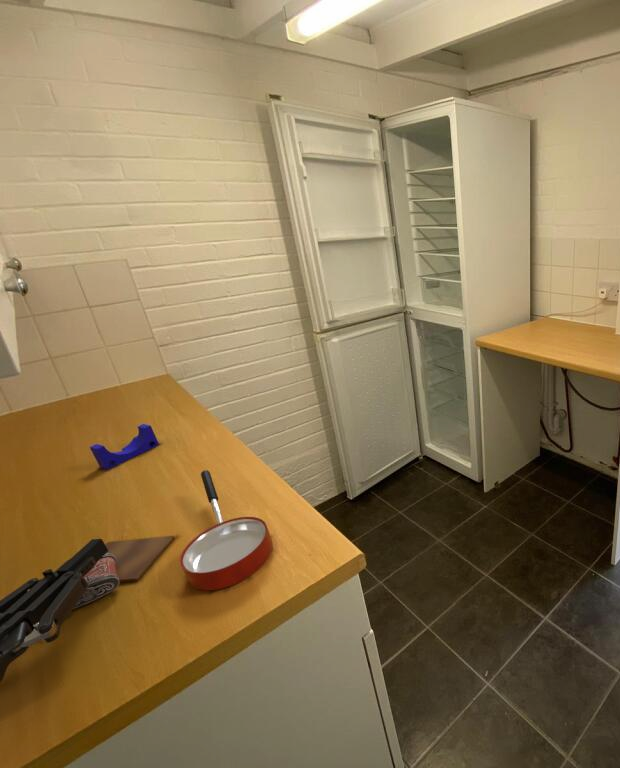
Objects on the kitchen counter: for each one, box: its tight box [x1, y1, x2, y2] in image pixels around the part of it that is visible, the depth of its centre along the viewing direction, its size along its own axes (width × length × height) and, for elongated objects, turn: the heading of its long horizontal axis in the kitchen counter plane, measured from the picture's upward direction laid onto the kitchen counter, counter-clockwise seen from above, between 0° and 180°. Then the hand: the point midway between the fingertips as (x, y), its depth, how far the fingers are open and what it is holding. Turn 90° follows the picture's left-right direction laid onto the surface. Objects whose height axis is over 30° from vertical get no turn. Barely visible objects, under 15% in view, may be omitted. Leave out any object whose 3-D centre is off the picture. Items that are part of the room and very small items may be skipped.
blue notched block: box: [89, 423, 160, 471], centre depth 108 cm, size 12×4×6 cm, turn 159°
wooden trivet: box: [105, 535, 176, 584], centre depth 75 cm, size 12×10×1 cm
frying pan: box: [179, 469, 274, 591], centre depth 80 cm, size 32×13×6 cm, turn 46°
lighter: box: [73, 553, 120, 610], centre depth 70 cm, size 8×3×10 cm
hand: (100, 545), depth 69 cm, fingers closed
